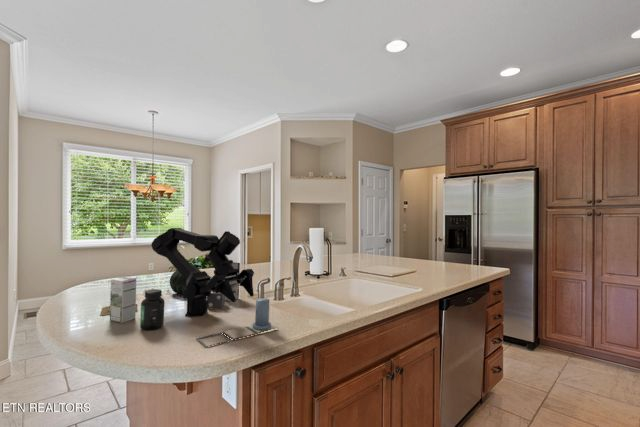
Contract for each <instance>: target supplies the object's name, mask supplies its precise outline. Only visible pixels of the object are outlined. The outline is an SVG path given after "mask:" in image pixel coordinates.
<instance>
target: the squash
mask: <svg viewBox="0 0 640 427" xmlns="http://www.w3.org/2000/svg"><path fill="white" fill-rule="evenodd" d="M191 265H192V266H193V267H194V269H195V270H196V271H197V272H201V271H202V270H200V269H199V268H198V267H197V266H195V265H193V264H191ZM169 285H170V288H171V289H172V291H173V292H174V293H175V294H180V295H183V292H184V291H185V290H186V289H187V287H186V279H185V278H184V277H183V276H182V275H181V274H180V272H179V271H178V270H177V269H176V270H175V271H173V272H172V274H171V276H170V279H169Z"/></svg>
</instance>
